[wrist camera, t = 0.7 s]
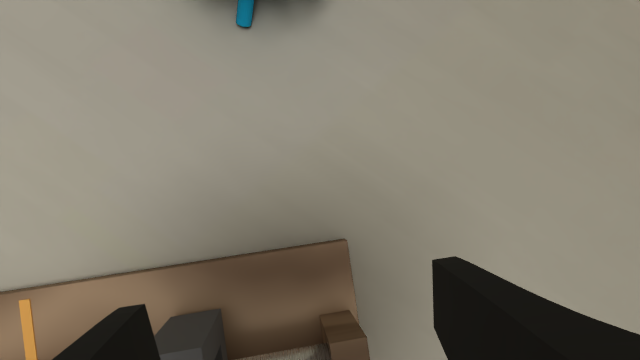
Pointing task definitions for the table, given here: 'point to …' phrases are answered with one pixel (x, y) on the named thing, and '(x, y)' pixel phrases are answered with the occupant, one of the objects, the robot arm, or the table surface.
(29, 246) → the table surface
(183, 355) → the collar
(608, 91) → the table surface
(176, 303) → the pipe stand
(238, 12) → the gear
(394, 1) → the table surface
